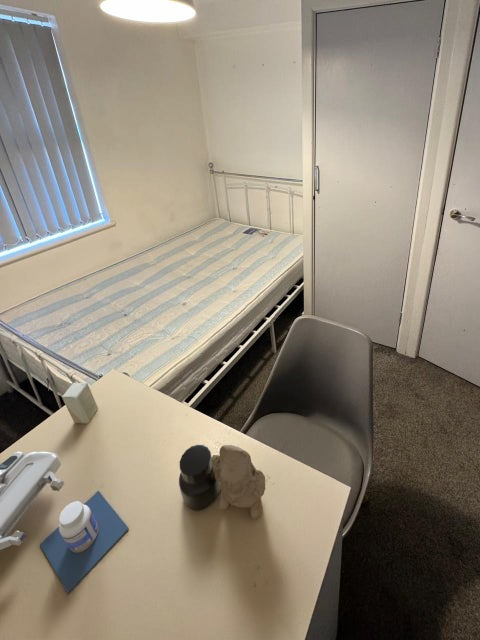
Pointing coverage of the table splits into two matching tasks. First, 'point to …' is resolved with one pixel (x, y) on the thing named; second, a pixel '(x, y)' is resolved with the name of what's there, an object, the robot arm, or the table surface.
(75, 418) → the box
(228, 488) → the figurine
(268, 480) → the table surface
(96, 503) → the mat
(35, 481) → the robot arm
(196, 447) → the ink bottle
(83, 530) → the pill bottle
